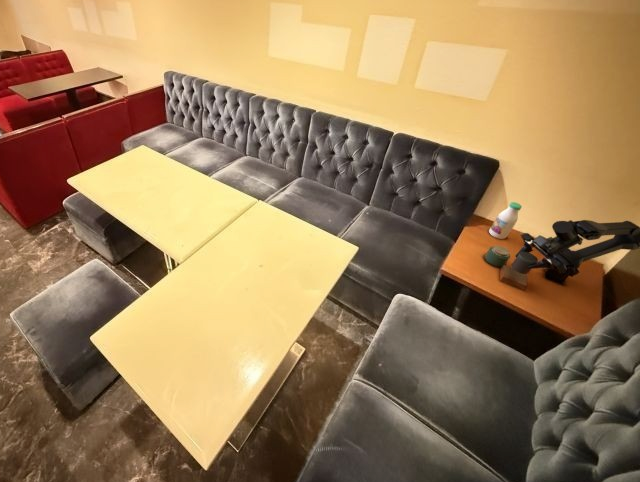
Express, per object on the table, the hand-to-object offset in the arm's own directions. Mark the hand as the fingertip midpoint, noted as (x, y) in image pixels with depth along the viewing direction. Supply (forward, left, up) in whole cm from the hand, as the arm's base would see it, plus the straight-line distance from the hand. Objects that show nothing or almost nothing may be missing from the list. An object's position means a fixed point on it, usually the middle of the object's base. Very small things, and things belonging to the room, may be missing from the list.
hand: (521, 262), depth 135 cm
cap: (-1, -1, -4) cm, 4 cm away
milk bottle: (+5, -33, -11) cm, 35 cm away
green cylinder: (+6, -9, -11) cm, 16 cm away
